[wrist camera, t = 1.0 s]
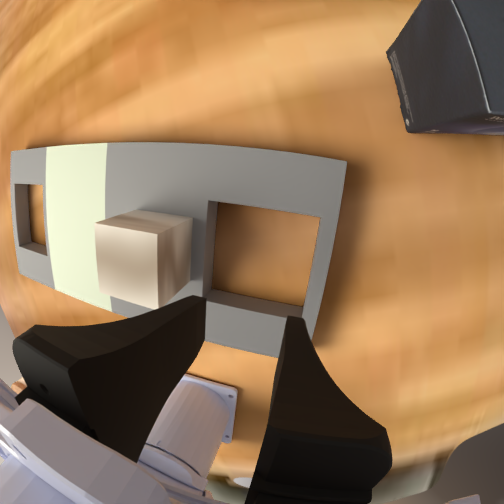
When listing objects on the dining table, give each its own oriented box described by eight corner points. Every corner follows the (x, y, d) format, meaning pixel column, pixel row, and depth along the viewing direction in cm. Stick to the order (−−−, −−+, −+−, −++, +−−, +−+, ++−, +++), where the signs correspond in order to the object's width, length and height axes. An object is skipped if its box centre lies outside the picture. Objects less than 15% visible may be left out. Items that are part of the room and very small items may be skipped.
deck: (307, 347, 22) (305, 362, 20) (31, 267, 27) (19, 273, 26) (344, 161, 17) (347, 161, 15) (24, 150, 23) (11, 151, 21)
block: (190, 281, 20) (158, 310, 16) (136, 268, 21) (99, 292, 17) (192, 217, 18) (157, 234, 14) (136, 209, 19) (94, 223, 15)
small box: (405, 139, 16) (488, 120, 6) (383, 49, 14) (427, -36, 4) (518, 139, 13) (612, 142, 3) (499, 60, 11) (578, 23, 2)
